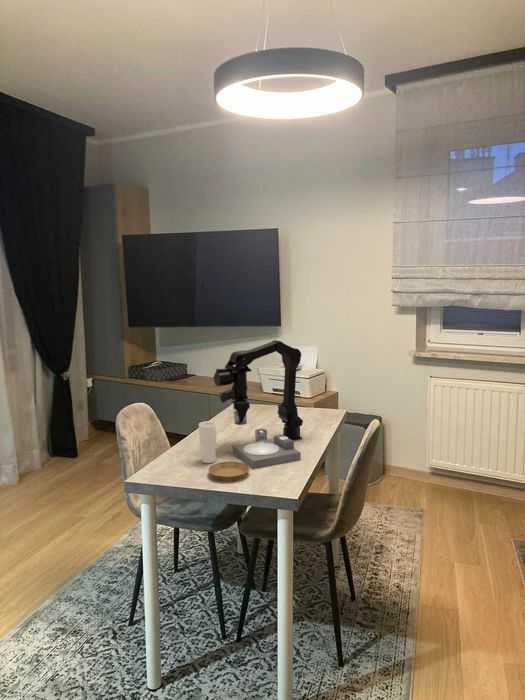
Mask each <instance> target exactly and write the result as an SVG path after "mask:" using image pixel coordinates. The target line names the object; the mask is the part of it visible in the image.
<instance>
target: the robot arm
mask: <svg viewBox="0 0 525 700" xmlns="http://www.w3.org/2000/svg"><path fill="white" fill-rule="evenodd" d="M275 352H276V353H278V354H279V355H281V359H282V360H281V361H282V363H283V366H284V379H283V380H284V383H283V399H282V402H281V404H278V405H277V412H276V413H277V415H278V418H279V419H280V420H281V422H282V423H283V425H284V426H283V428H282V430H283V431H282V433H283V434H282V435H284V436H286V437H288V438H289V439H291V440H293V441H296V440H302V439H303V436H301V427H302V426H303V423H304V420H303V419H302V418H301V417H300V416H299V414H298V413H299V412H298V408H297V405H296V403H295V400H296V399H295V398H296V382H297V379H296V378H297V368H298V367H299V365H300V363H301V360H302V359H301V358H302V352H301V350H300V349H299V348H295V347H291V346H290V345H288V344H286V343H284V342H283V341H281V340H275V339H274V340H271V341H269V342H267V343H265V344H262V345H259V346H257V347H254V348H251V349H247V350H238V351H237V350H236V351H234V352H232V353H231V354H230V357H229V360H228V362H226V364H225V366H224V368H216V369H215V372H214V375H213V383H214V384H215V386H216V387H223V386H229V385H231V388H229V389H226V390H224V391H221V392H219V393H218V397H219V399H220V401H221V402H220V403H222V404H223V403H226V402H227V401H229V400H232V404H233V405H232V406H233V410H234V411H235V410H237V412H238V416H239V421H240V423H242V422H243V420H244V417H245V415H247V412H248V409H250V408H251V407H250V406H251V405H250V401H249V400H248V397H249V396H248V382H247V381H248V379H247V378H248V377H247V376H248V375H247V373H249V372H252V369H251V368H249V366H248V365H251V364H252V362H253V361H255V360H256V359H259V358H262V357H265V356H267V355H270V354H273V353H275Z"/></svg>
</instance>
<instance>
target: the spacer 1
mask: <svg viewBox="0 0 525 700" xmlns="http://www.w3.org/2000/svg"><path fill="white" fill-rule="evenodd" d="M233 415H234V416H233V418H234V419H233V421H234V425H238V426H243V425H244V426H245V425H246V424H247V422H248V421H247V418H248V417H247V414H246V415H245V417H244V420H243V422H242V423H240V421H239V416H238V412H237V410H235V409H234V411H233Z"/></svg>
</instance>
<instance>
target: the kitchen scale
mask: <svg viewBox="0 0 525 700" xmlns="http://www.w3.org/2000/svg"><path fill="white" fill-rule="evenodd" d="M232 453H233V454H234V455H235V456H237V457H238V458H239V459H241V461H243V463H244V464H247V465H248V466H249V468H251V469H253V470H255V469H259V468H265V467H270V466H275V465H280V464H287V463H291V462H296V461H300V460H301V457H302V456H301V455H302V454H301V452H300V451H299V450H297V449H296V448H295V440H291V439H289V438H288V437H286V436H284V435H283V434H275V435H274V436H273V438H267V440H261V441H251V442H245V443H244V442H243V443H239V444H232Z"/></svg>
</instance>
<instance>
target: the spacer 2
mask: <svg viewBox="0 0 525 700" xmlns="http://www.w3.org/2000/svg"><path fill="white" fill-rule="evenodd" d="M254 433H255V434H254V435H255V436H254V439H255V441H261V440H267V439H268V430H267V429H265V428H257V429H255V430H254ZM255 441H254V442H255Z"/></svg>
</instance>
